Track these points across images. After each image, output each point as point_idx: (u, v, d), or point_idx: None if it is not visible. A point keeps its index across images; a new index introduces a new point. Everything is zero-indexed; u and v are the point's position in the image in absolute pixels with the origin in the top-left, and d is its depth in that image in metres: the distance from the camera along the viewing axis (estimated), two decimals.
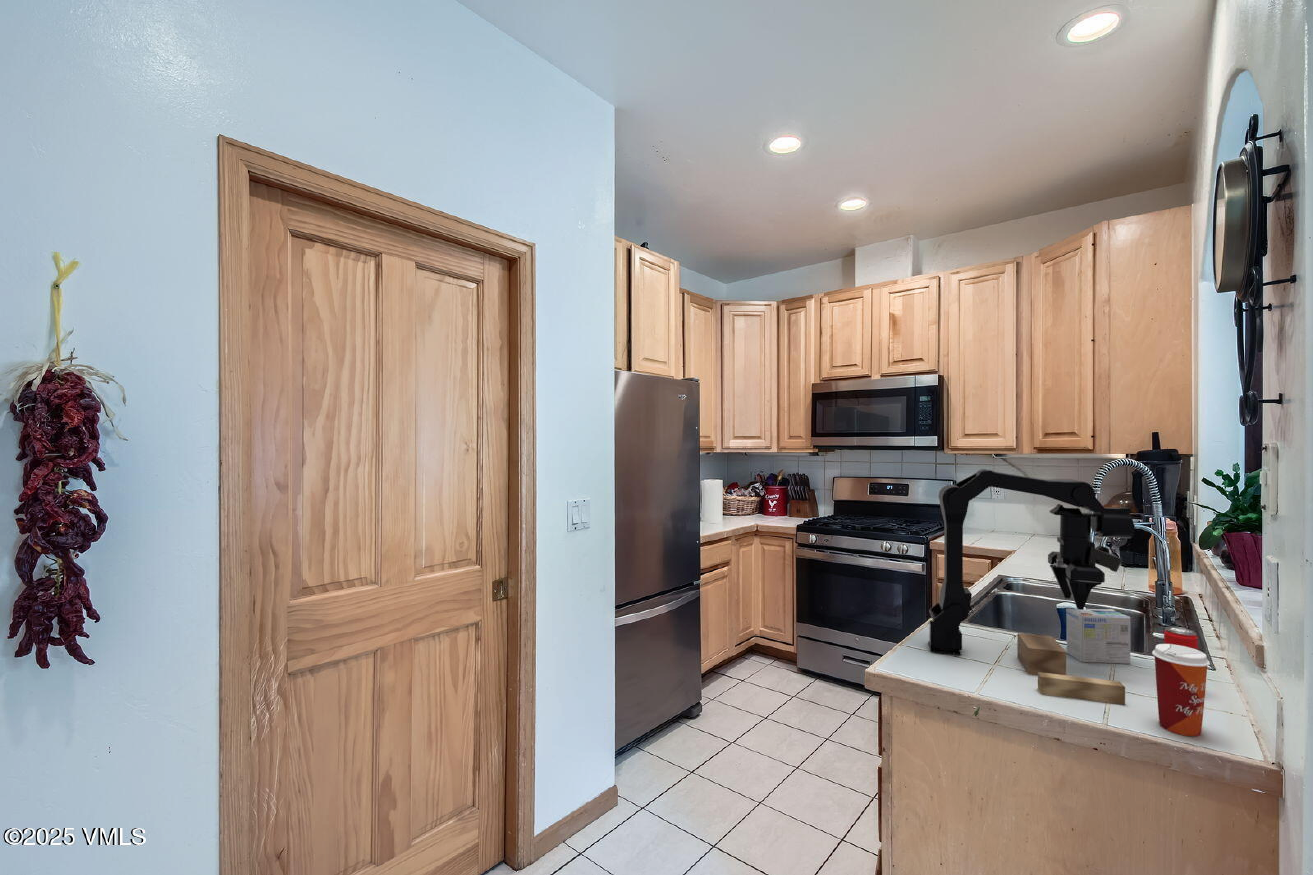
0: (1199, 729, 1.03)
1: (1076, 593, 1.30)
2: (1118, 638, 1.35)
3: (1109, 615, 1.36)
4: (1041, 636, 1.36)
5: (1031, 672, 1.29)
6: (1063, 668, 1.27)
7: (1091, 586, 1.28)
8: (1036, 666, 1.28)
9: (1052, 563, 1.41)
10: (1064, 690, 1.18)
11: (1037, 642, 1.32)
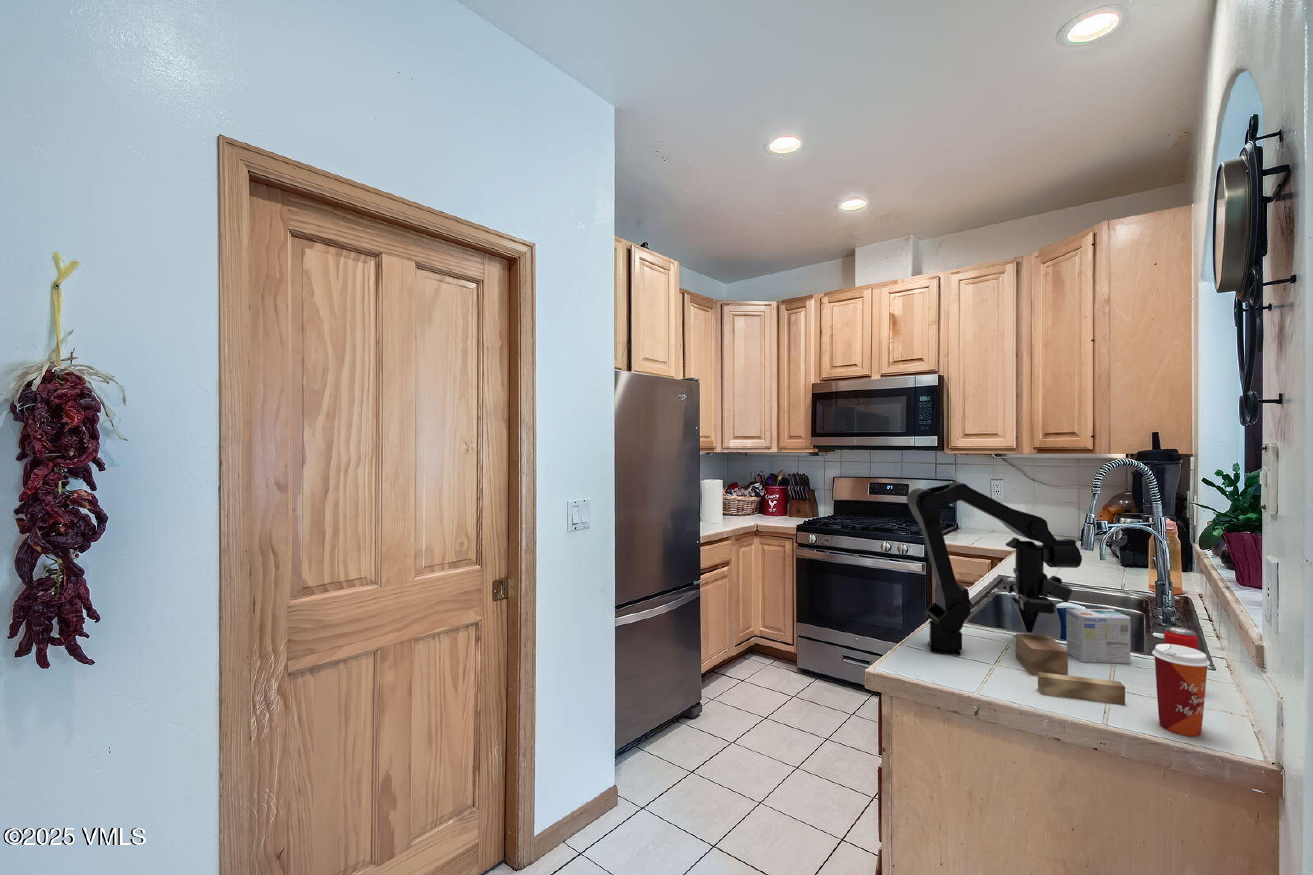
0: (1199, 729, 1.03)
1: (1025, 617, 1.41)
2: (1118, 638, 1.35)
3: (1109, 615, 1.36)
4: (1039, 636, 1.36)
5: (1034, 673, 1.28)
6: (1065, 668, 1.27)
7: None
8: (1038, 667, 1.28)
9: (1010, 592, 1.48)
10: (1064, 690, 1.18)
11: (1037, 643, 1.32)
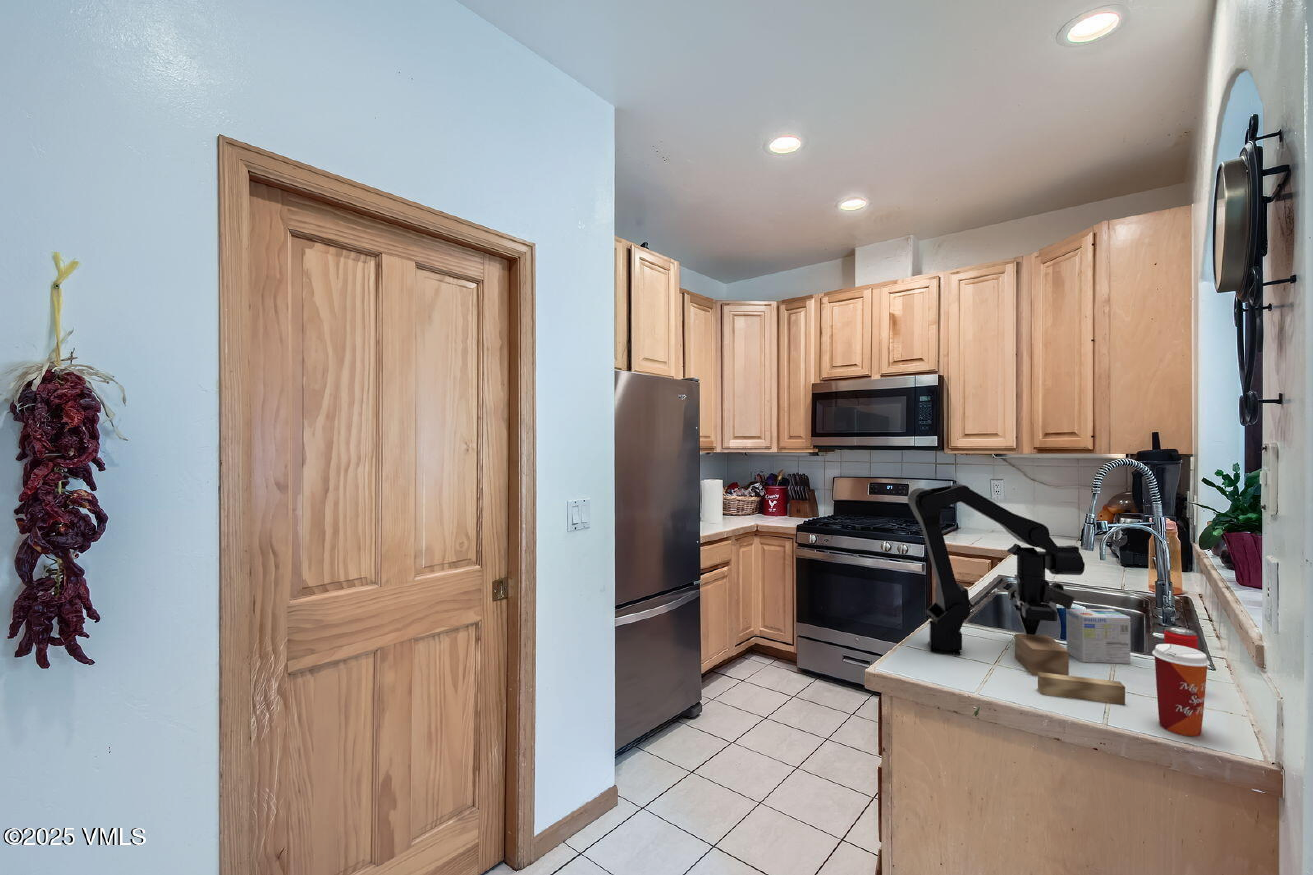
0: (1199, 729, 1.03)
1: (1026, 624, 1.40)
2: (1118, 638, 1.35)
3: (1109, 615, 1.36)
4: (1038, 636, 1.36)
5: (1035, 673, 1.28)
6: (1066, 668, 1.27)
7: None
8: (1039, 667, 1.28)
9: (1011, 599, 1.47)
10: (1064, 690, 1.18)
11: (1037, 643, 1.32)
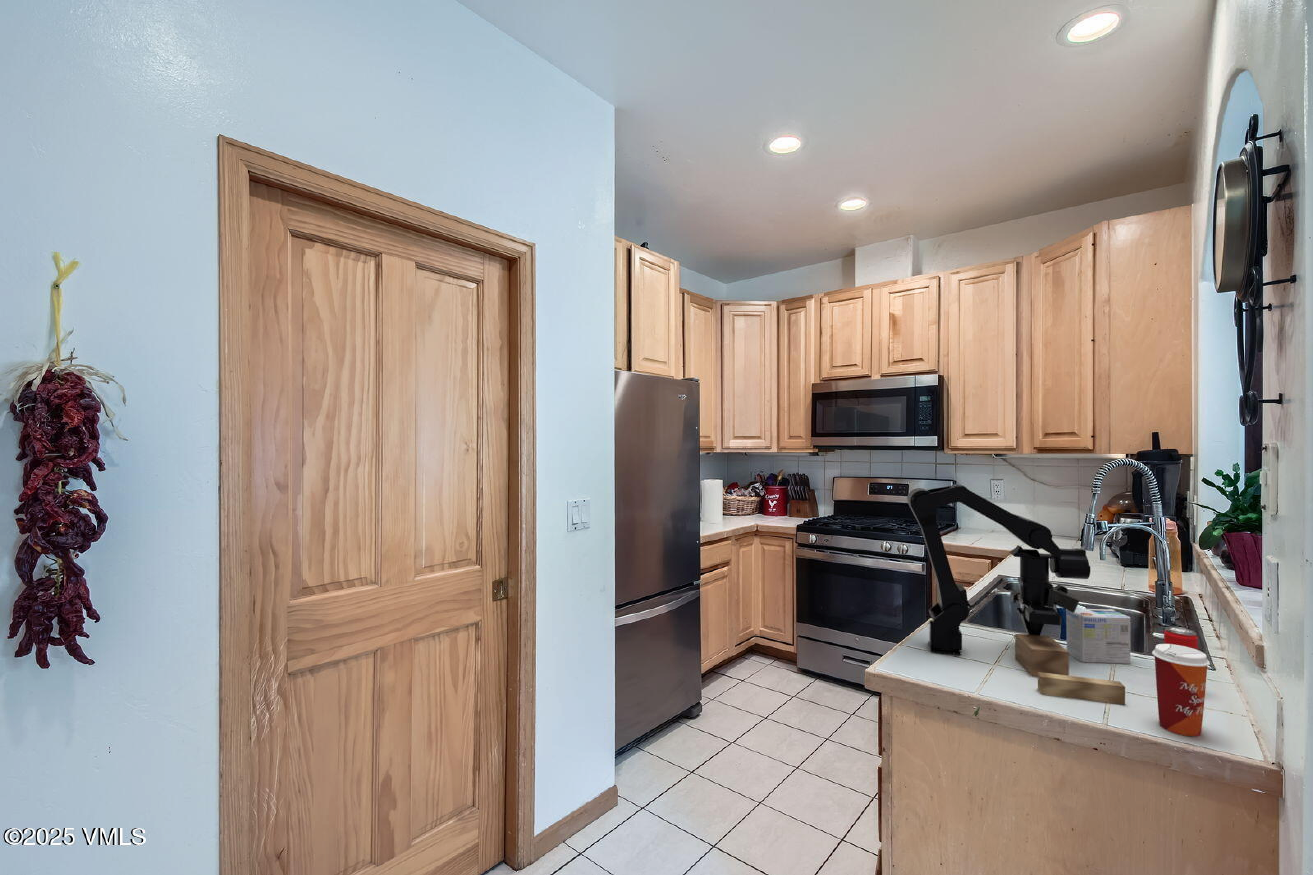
0: (1199, 729, 1.03)
1: (1030, 628, 1.37)
2: (1118, 638, 1.35)
3: (1109, 615, 1.36)
4: (1039, 636, 1.35)
5: (1035, 673, 1.28)
6: (1066, 668, 1.26)
7: None
8: (1039, 667, 1.27)
9: (1014, 601, 1.44)
10: (1064, 690, 1.18)
11: (1037, 643, 1.31)
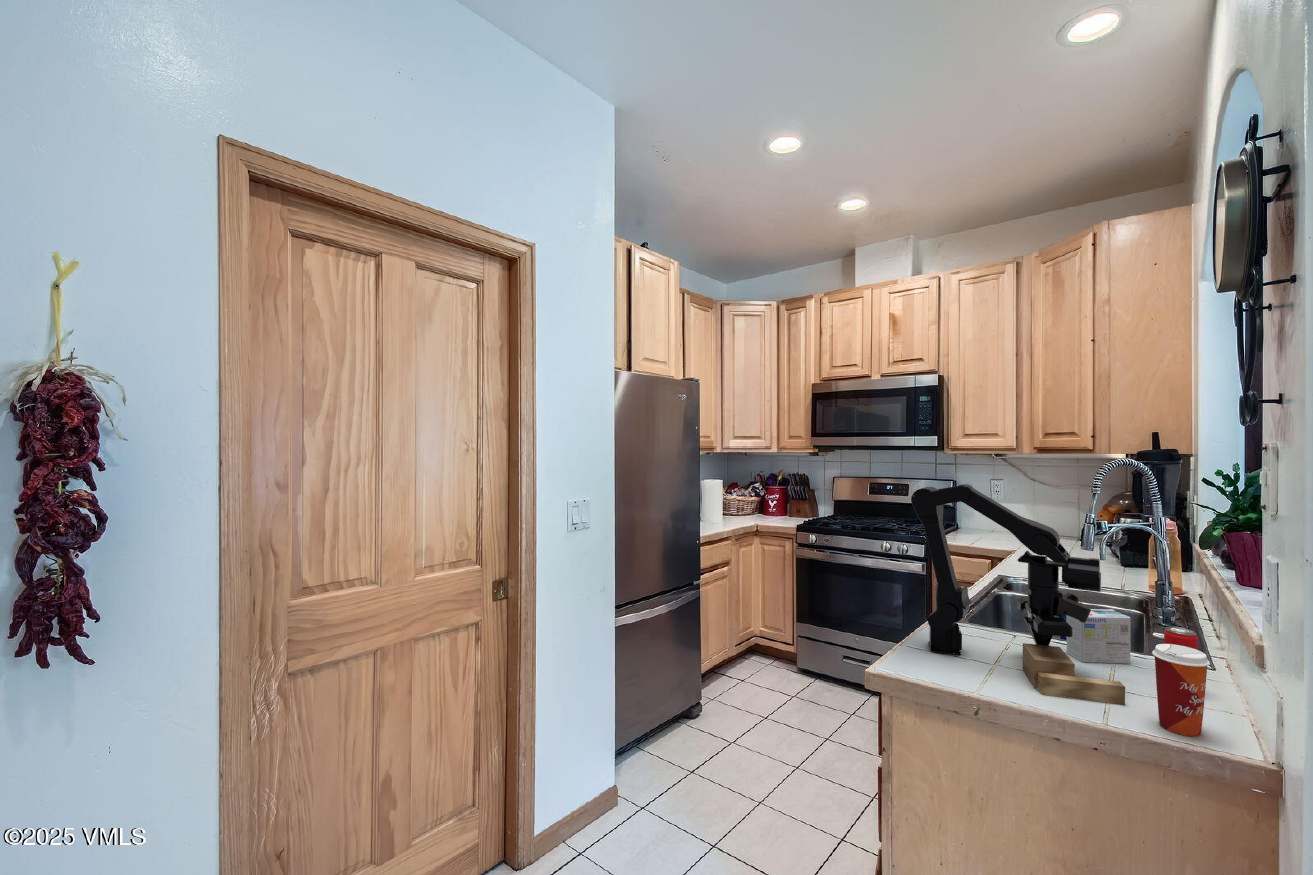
0: (1199, 729, 1.03)
1: (1038, 639, 1.30)
2: (1118, 638, 1.35)
3: (1109, 615, 1.36)
4: (1048, 647, 1.29)
5: (1037, 685, 1.22)
6: None
7: None
8: None
9: (1021, 610, 1.38)
10: (1064, 690, 1.18)
11: (1043, 654, 1.25)
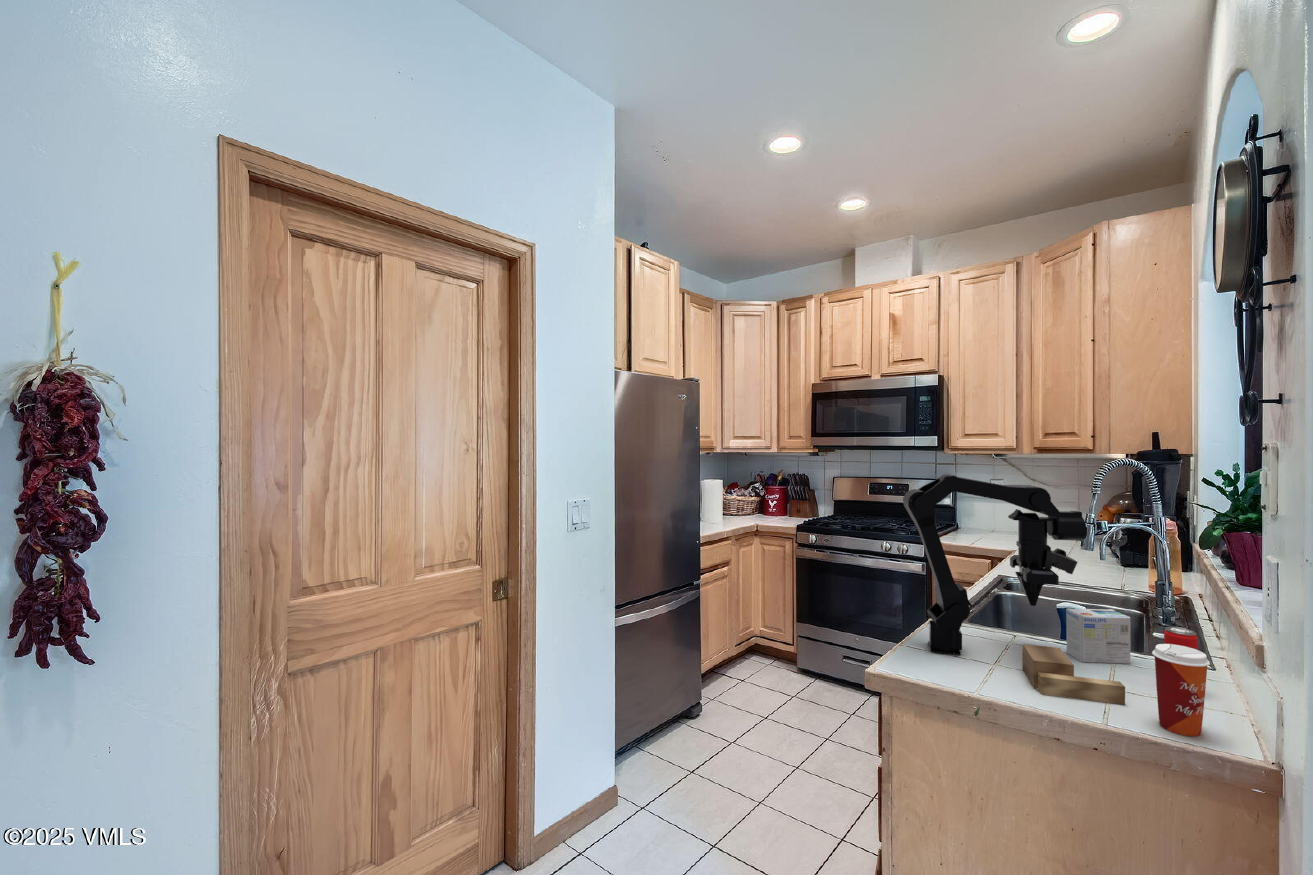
0: (1199, 729, 1.03)
1: (1028, 590, 1.39)
2: (1118, 638, 1.35)
3: (1109, 615, 1.36)
4: (1047, 648, 1.29)
5: (1037, 686, 1.22)
6: None
7: (1042, 584, 1.37)
8: None
9: (1013, 566, 1.46)
10: (1064, 690, 1.18)
11: (1043, 654, 1.25)
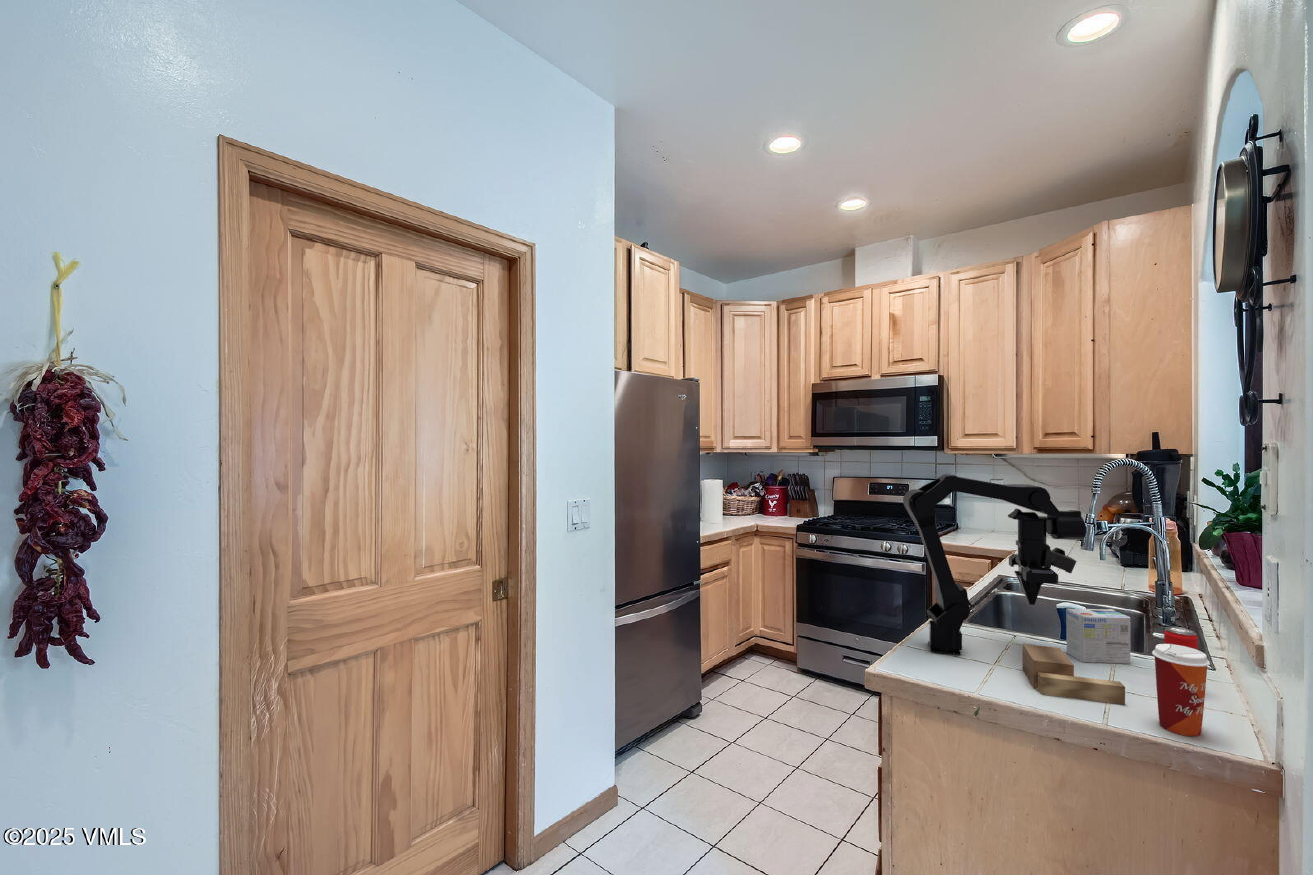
0: (1199, 729, 1.03)
1: (1027, 589, 1.39)
2: (1118, 638, 1.35)
3: (1109, 615, 1.36)
4: (1047, 648, 1.29)
5: (1036, 686, 1.22)
6: None
7: (1041, 583, 1.37)
8: None
9: (1012, 565, 1.46)
10: (1064, 690, 1.18)
11: (1043, 654, 1.25)
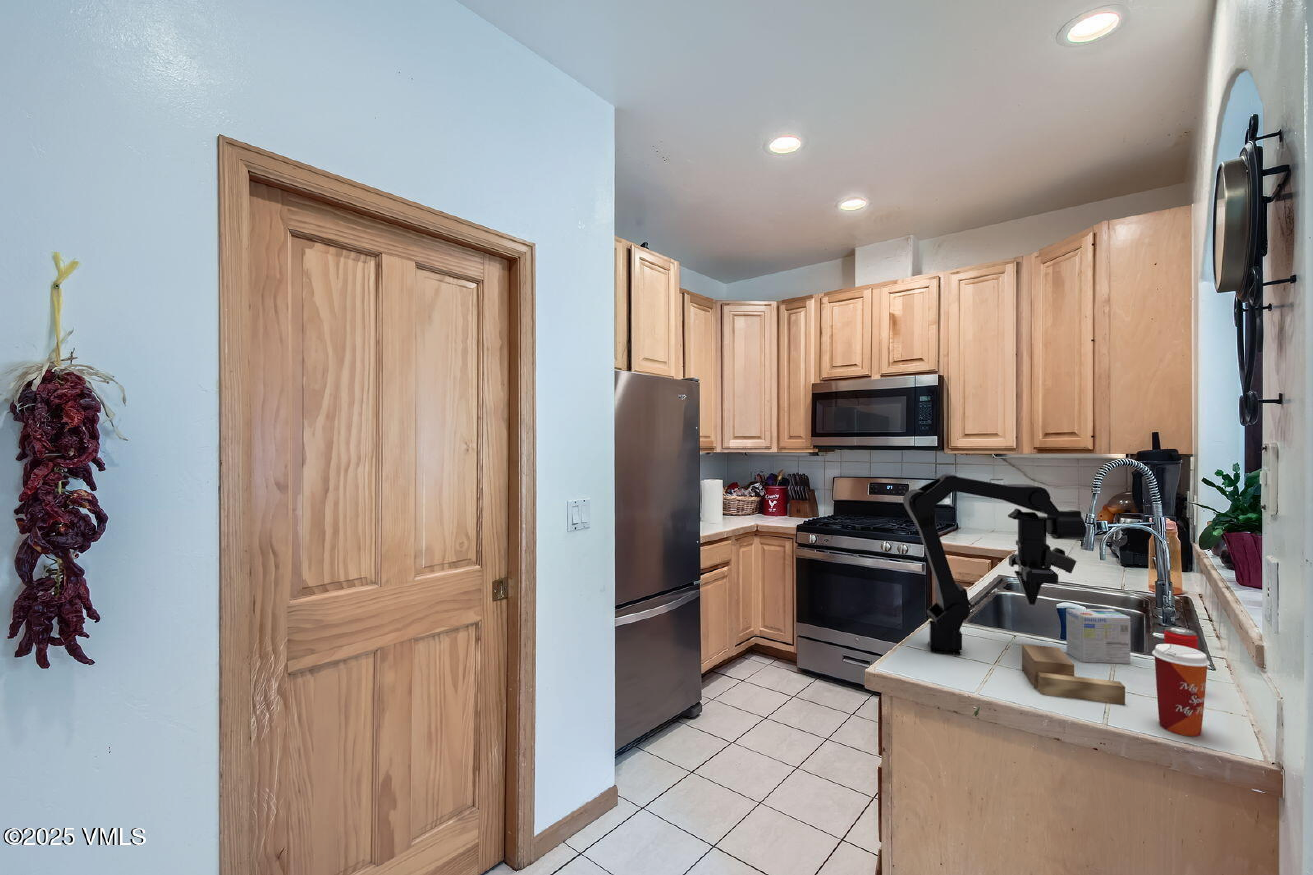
0: (1199, 729, 1.03)
1: (1027, 589, 1.39)
2: (1118, 638, 1.35)
3: (1109, 615, 1.36)
4: (1047, 648, 1.29)
5: (1037, 686, 1.22)
6: None
7: (1041, 583, 1.37)
8: None
9: (1012, 565, 1.46)
10: (1064, 690, 1.18)
11: (1043, 655, 1.25)
